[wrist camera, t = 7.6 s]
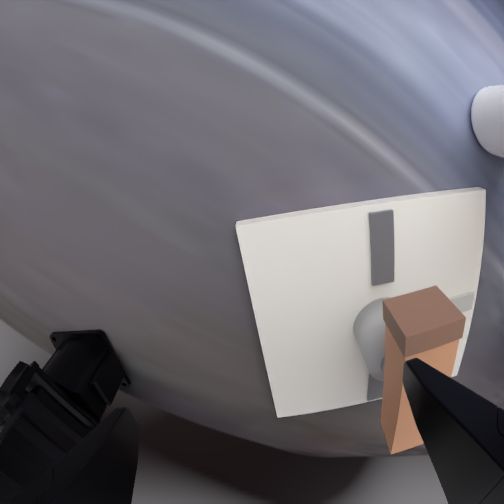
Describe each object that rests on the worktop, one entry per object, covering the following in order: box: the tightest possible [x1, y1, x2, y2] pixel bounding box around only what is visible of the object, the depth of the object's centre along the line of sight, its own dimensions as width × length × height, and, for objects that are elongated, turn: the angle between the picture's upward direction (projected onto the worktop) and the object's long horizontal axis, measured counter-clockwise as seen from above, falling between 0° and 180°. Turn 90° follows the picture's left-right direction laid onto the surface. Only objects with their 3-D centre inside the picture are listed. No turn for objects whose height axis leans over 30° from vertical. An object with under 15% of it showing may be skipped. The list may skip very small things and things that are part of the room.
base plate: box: [236, 187, 486, 418], centre depth 20 cm, size 18×18×5 cm
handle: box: [380, 286, 466, 454], centre depth 15 cm, size 11×3×4 cm, turn 13°
